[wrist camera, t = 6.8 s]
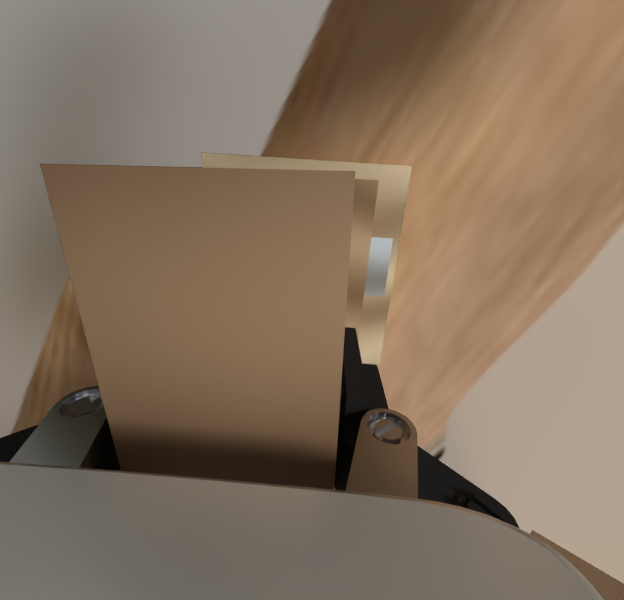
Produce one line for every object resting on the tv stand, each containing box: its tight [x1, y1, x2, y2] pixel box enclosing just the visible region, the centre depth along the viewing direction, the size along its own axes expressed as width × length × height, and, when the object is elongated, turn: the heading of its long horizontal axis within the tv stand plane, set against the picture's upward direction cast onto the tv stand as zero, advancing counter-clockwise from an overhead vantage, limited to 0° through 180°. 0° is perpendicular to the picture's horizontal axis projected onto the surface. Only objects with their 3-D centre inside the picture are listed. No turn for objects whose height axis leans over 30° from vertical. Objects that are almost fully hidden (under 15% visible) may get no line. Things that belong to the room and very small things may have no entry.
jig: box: [201, 153, 412, 370], centre depth 24 cm, size 20×14×4 cm
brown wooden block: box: [40, 164, 355, 489], centre depth 10 cm, size 14×4×6 cm, turn 179°
